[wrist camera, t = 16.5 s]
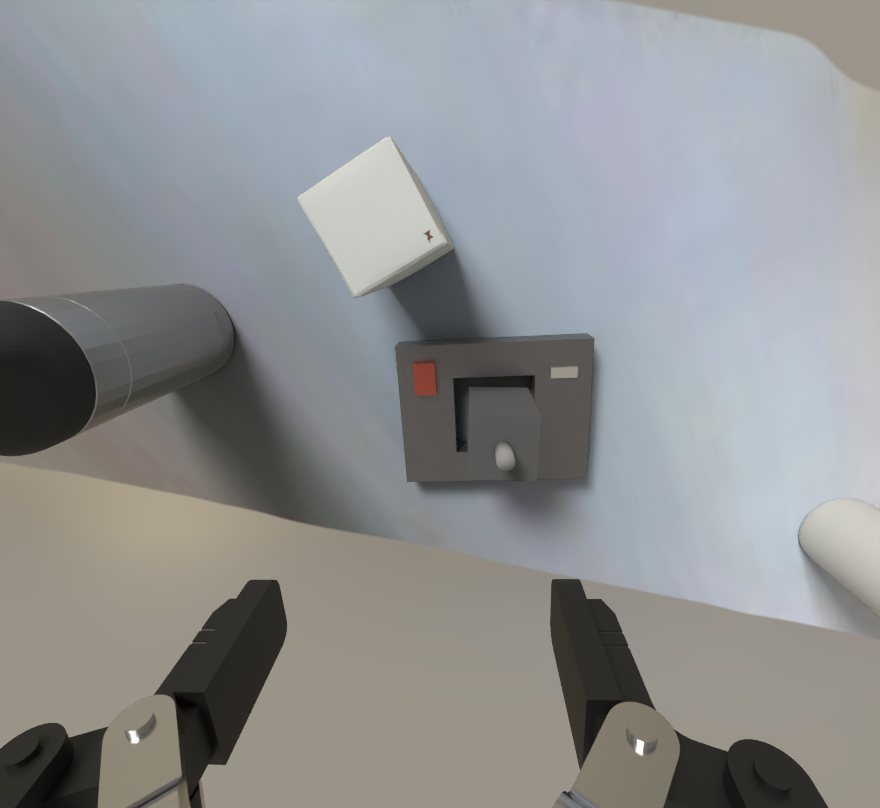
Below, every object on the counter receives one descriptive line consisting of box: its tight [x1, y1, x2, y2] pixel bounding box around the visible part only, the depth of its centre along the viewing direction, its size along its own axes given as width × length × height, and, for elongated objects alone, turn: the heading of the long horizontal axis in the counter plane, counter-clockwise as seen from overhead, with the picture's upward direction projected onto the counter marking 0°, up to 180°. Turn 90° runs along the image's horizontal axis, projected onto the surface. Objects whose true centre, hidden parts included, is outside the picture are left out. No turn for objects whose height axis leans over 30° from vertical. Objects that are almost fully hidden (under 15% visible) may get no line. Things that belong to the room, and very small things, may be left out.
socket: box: [395, 333, 594, 482], centre depth 43 cm, size 18×14×3 cm
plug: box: [468, 387, 541, 481], centre depth 38 cm, size 6×6×13 cm
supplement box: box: [297, 136, 454, 298], centre depth 34 cm, size 7×7×13 cm
